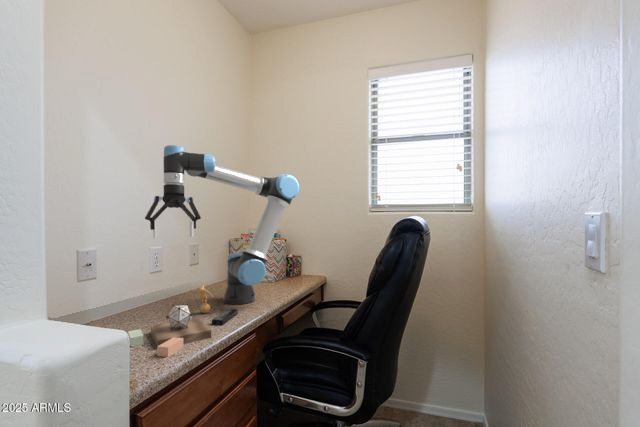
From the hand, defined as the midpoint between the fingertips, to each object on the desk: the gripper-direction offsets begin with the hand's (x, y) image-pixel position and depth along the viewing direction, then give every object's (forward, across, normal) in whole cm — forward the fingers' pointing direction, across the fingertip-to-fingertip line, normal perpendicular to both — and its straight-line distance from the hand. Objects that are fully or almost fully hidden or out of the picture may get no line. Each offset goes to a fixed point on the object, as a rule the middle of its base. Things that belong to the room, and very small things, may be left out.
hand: (174, 237), depth 122 cm
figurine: (+33, +11, -1) cm, 34 cm away
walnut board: (+32, -3, -21) cm, 38 cm away
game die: (+30, -3, -21) cm, 36 cm away
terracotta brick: (+32, -8, -32) cm, 47 cm away
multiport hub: (+33, +16, -13) cm, 39 cm away
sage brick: (+32, -16, -18) cm, 40 cm away
